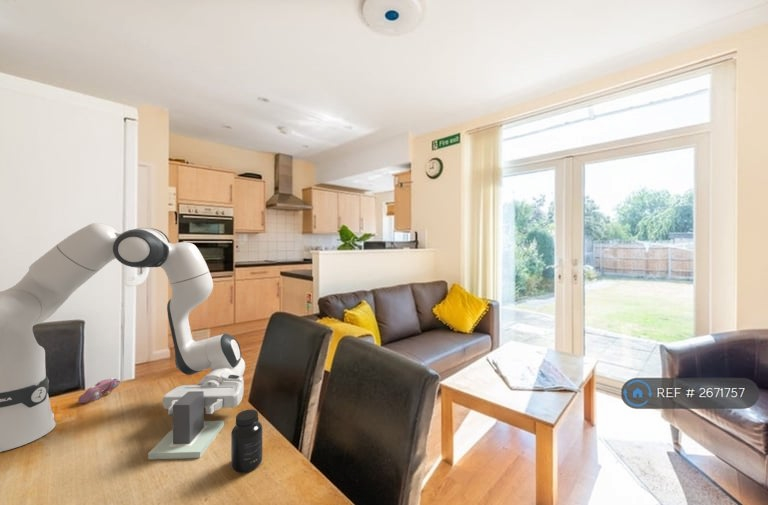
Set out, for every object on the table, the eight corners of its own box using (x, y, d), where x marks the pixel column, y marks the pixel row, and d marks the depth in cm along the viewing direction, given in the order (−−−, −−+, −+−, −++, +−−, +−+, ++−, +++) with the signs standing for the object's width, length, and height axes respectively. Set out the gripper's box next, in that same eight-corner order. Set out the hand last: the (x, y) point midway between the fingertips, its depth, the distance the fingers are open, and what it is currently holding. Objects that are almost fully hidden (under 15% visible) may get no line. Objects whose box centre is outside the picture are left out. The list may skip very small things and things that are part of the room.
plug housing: (173, 444, 78) (172, 405, 78) (188, 427, 85) (188, 391, 85) (189, 443, 79) (189, 404, 78) (203, 427, 86) (203, 391, 85)
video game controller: (85, 410, 98) (93, 391, 98) (75, 402, 99) (82, 384, 98) (117, 394, 108) (124, 378, 107) (107, 388, 109) (114, 371, 108)
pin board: (148, 459, 75) (148, 444, 75) (179, 427, 88) (179, 414, 88) (200, 457, 76) (200, 442, 76) (223, 426, 89) (223, 413, 89)
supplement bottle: (226, 464, 74) (225, 414, 73) (253, 450, 79) (253, 403, 79) (239, 479, 69) (239, 426, 69) (268, 462, 75) (268, 413, 74)
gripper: (179, 377, 95) (147, 400, 81) (248, 376, 96) (229, 399, 82) (179, 397, 95) (148, 424, 81) (248, 396, 97) (229, 422, 83)
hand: (189, 411), depth 82 cm, fingers open, 8 cm apart
